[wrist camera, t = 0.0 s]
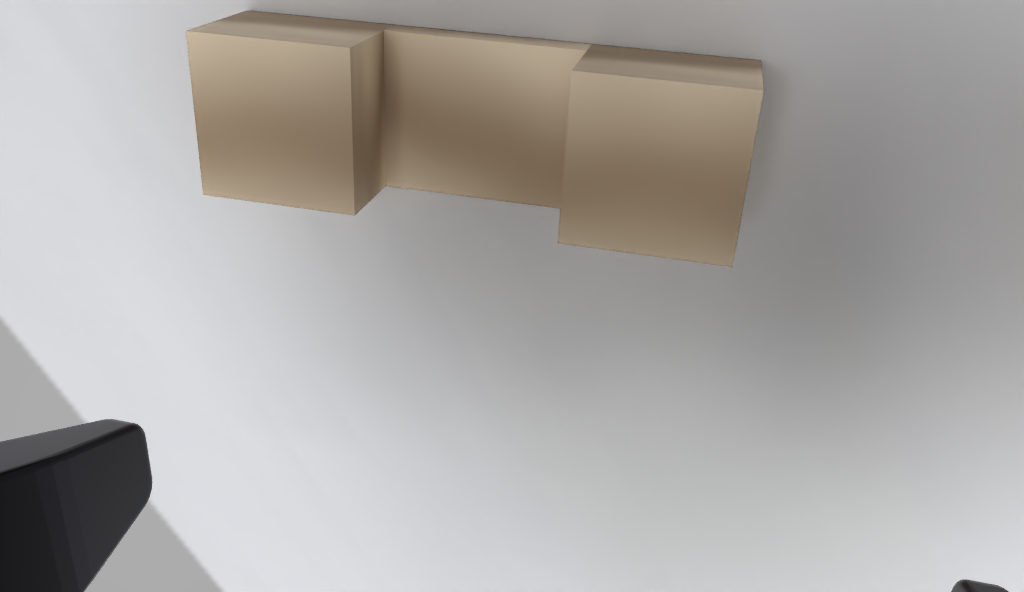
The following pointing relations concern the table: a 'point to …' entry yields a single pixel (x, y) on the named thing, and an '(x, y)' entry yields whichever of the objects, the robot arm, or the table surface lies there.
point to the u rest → (479, 126)
